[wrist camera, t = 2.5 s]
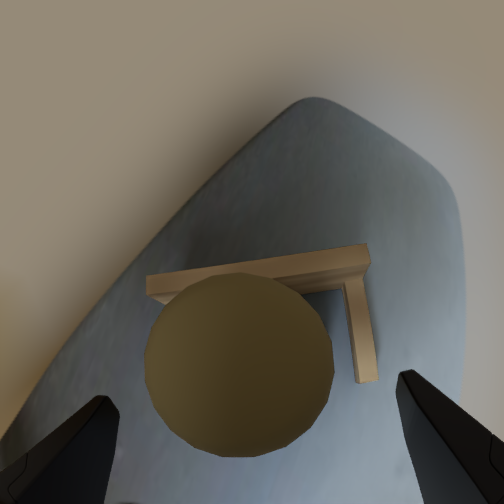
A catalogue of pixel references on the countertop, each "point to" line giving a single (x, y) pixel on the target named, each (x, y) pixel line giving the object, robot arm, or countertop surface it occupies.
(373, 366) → the holder
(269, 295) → the cork
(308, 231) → the countertop surface
